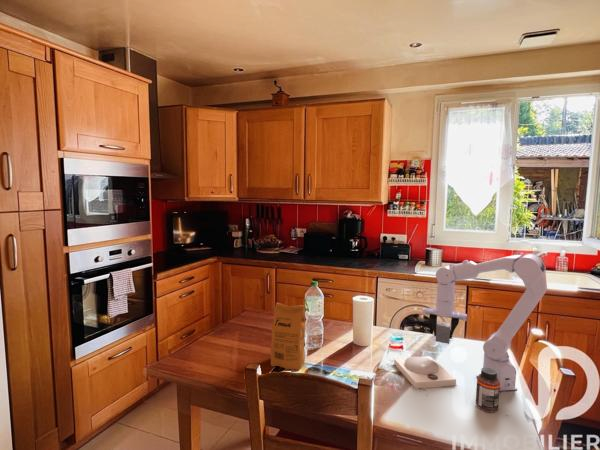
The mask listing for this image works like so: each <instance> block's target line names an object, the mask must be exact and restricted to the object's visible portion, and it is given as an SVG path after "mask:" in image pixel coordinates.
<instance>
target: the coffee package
mask: <svg viewBox="0 0 600 450" xmlns="http://www.w3.org/2000/svg"><path fill="white" fill-rule="evenodd" d="M305 318H306V315H305V305H304V304H303V305H302V304H300V305H286V304H283V303H281V302H278V301H277V302H275V308H274V313H273V320H272V321H273V322H272V327H271V345H270V366H271V367H274V366H279V368H282V367H283V368H285V369H284V370H287V369H291V370H295V371H296V370H298V371H299V370H301V368H302V367H303V366H304V364H305V359H306V355H305V342H306V341H305V339H306V338H305V337H306V319H305ZM283 368H282V369H283ZM291 370H290V371H291Z"/></svg>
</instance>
